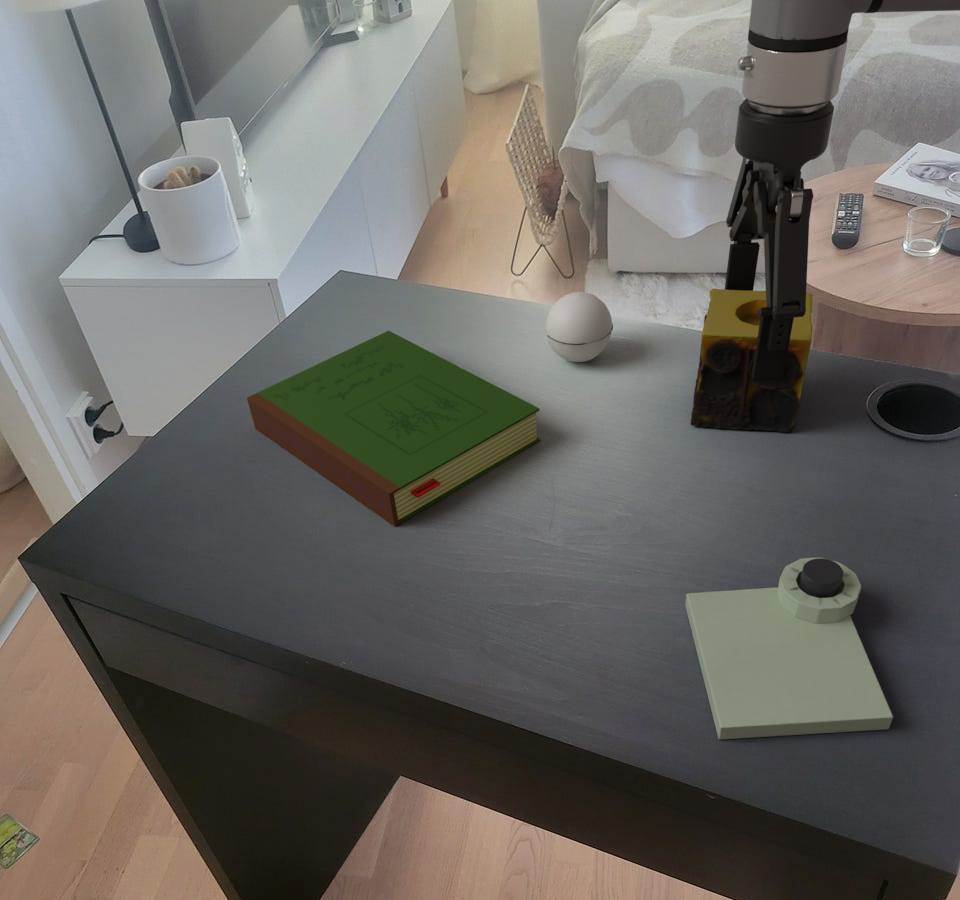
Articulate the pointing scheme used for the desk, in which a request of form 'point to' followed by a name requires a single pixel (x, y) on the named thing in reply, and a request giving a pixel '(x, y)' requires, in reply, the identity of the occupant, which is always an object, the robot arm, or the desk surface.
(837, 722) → the scale
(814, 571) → the button
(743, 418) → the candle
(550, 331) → the white ball
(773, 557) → the desk surface
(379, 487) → the hardcover book
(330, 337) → the desk surface
